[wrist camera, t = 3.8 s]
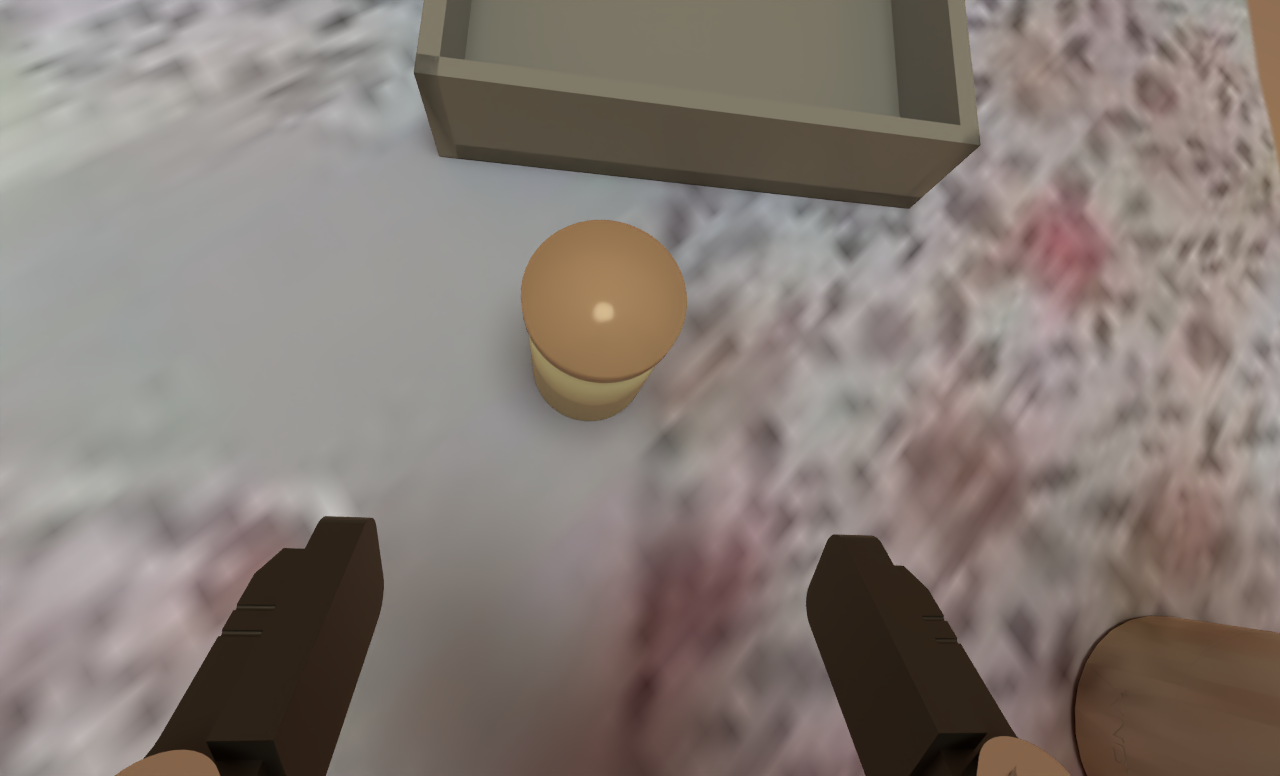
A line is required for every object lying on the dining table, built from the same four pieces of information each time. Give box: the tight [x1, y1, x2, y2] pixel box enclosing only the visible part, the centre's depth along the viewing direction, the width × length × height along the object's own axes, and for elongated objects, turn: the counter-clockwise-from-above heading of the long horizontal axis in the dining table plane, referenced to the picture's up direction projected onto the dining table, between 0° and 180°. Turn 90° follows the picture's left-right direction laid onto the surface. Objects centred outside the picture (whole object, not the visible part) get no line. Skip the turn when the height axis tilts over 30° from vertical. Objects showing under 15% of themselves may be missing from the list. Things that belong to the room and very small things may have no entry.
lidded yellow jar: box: [521, 220, 687, 421], centre depth 21 cm, size 5×5×8 cm
